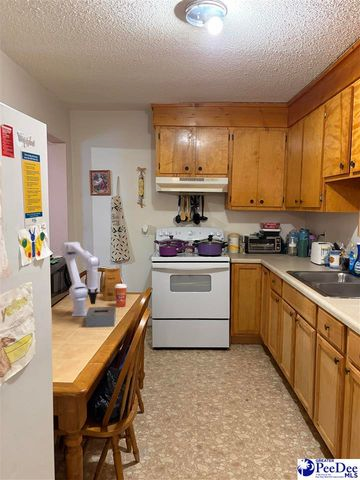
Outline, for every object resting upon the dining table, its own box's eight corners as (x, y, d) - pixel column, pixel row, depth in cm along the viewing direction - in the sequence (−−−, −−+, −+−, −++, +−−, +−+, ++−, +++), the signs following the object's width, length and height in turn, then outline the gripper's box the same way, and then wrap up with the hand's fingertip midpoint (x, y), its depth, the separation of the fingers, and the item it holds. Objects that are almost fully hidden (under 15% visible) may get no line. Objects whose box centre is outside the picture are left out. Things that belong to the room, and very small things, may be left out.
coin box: (89, 317, 203) (89, 307, 202) (115, 316, 205) (115, 306, 204) (85, 327, 186) (85, 316, 186) (114, 326, 188) (114, 315, 188)
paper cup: (115, 308, 223) (115, 286, 222) (114, 304, 230) (114, 283, 229) (128, 307, 225) (128, 285, 224) (126, 304, 232) (126, 283, 231)
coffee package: (102, 298, 247) (101, 267, 245) (119, 297, 251) (119, 266, 249) (103, 301, 238) (103, 269, 236) (121, 300, 241) (121, 268, 239)
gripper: (85, 276, 202) (85, 299, 203) (84, 281, 188) (85, 306, 189) (97, 275, 203) (98, 298, 205) (98, 280, 189) (98, 305, 191)
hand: (92, 302), depth 197 cm, fingers open, 7 cm apart
